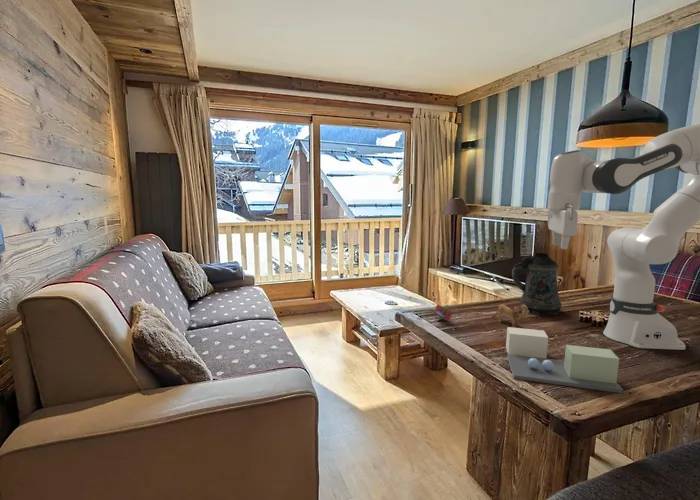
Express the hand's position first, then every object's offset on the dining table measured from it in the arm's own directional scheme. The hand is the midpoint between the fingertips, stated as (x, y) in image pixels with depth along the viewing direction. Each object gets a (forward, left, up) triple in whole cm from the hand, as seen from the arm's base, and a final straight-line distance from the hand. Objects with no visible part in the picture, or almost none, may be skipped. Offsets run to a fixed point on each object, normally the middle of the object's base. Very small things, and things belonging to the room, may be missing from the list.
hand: (559, 246), depth 117 cm
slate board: (+2, +20, -34) cm, 39 cm away
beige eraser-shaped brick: (+9, +8, -34) cm, 36 cm away
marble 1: (+9, +21, -33) cm, 40 cm away
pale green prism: (-5, +21, -33) cm, 39 cm away
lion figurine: (+10, -19, -34) cm, 41 cm away
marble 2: (+6, +21, -33) cm, 39 cm away
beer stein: (-3, -41, -34) cm, 53 cm away
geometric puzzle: (+36, -15, -34) cm, 52 cm away
